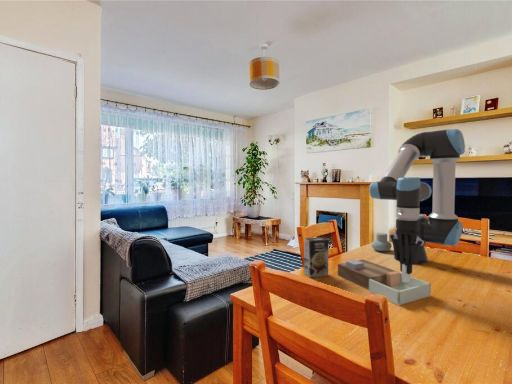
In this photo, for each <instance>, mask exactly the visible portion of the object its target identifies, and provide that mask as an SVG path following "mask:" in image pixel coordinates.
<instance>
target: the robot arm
mask: <svg viewBox="0 0 512 384" xmlns="http://www.w3.org/2000/svg"><path fill="white" fill-rule="evenodd" d="M465 149H466V144H465V138H464V135H463V132H462V130H460V129H458V128H457V129H456V128H453V129H452V128H450V129H449V128H448V129H441V130H440V129H439V130H433V131H424V132H419V133H417V134H415V135H412V136H411V137H409V138H407V140H406V141H404V142H403V143H402V144H401V146H400V147H399V148H398V152H397V153H398V154H397V156H396V157H395V159H394V160H393V162H392V163H391V164H390V166H389V167H388V169H387V170H386V172H384V175H383V176H382V178H381V179H380V181H373V182H371V183H370V185H369V188H368V189H369V195H370V197H371V198H372V199H374V200H375V199H376V200H385V201H386V200H390V201H394V200H395V201H396V209H395V210H396V211H395V212H396V213H395V214H396V215H395V216H396V220H395V228H396V230H395V233H393V234H390V236H389V238H390V239H391V241H392V247H393V252H394V255H393V258H394V259H395V261H398V262H399V264H400V266H399V268H400V273H402V282H410V276H411V274H413V266H416V265H423V264H427V263H428V262H429V260H428V257H429V256H428V255H427V251H426V249H425V244H426V243H431V244H436V245H437V244H438V245H441V246H442V245H443V246H451V247H452V246H453V247H455V246H457V244H458V243H459V242H460V239H461V237H462V233H463V222H462V221H459V217H458V215H457V214H455V202H456V201H455V199H456V198H455V196H456V193H455V192H456V167H457V166H456V165H457V164H456V163H457V161H459V160H460V158H461V156H462V155H464V154H465V151H466V150H465ZM420 157H429V161H431V162H432V163H433V166H432V167H433V168H432V169H433V170H432V172H433V173H432V187H431V186H430V185H429V184H428V183H426V182H424V181H421V178H420V177H415V176H414V177H407V176H406V175H407V174H408V171H409V170H410V168H411V167H412V165H413V163H414V161H416V160H418V159H419V158H420ZM431 195H432V212H431V213H430V214H428V218H426V216H425V215H424V214H420V211H421V210H420V209H421V208H420V203H421V202H424V201H426V200H427V199H429V198H430V197H431Z"/></svg>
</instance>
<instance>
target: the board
mask: <svg viewBox="0 0 512 384" xmlns="http://www.w3.org/2000/svg"><path fill="white" fill-rule="evenodd" d="M356 260H357V259H356ZM357 261H360V262H362V263H364V268H360V269H353V268H350V267H348V266H346V262H341V263H338V264H337V276H338V277H340V278H343V279H344V280H347V281H349V282H352V283H354V284H356V285H358V286H360V287H362V288H363V289H365V290H368V291H369V279H372V280H374V281H376V282H379V283H381V284H383V285H386V276H387V273H389V272H394V271H396V272H398V271H397V270H394V269H391V268H389V267H386V266H383V265H380V264H377V263H375V262H371V261H369V260H367V259H358V260H357Z"/></svg>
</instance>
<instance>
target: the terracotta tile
mask: <svg viewBox="0 0 512 384" xmlns="http://www.w3.org/2000/svg"><path fill="white" fill-rule="evenodd" d="M396 271H397V270H394V272H389V273H387V276H386V286H389V287H394V286H398V285H400V273H401V272H399V271H397V272H396Z"/></svg>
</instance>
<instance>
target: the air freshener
mask: <svg viewBox="0 0 512 384" xmlns="http://www.w3.org/2000/svg"><path fill="white" fill-rule="evenodd" d="M375 236H376V238H375V240H373V241H372V243H371V248H372V249H373V250H375V251H377V252H382V253H387V252H389V251H391V249H392V247H393V244H392V243H391V242H390V241H388V233H385V232H377V233H375Z"/></svg>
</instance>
